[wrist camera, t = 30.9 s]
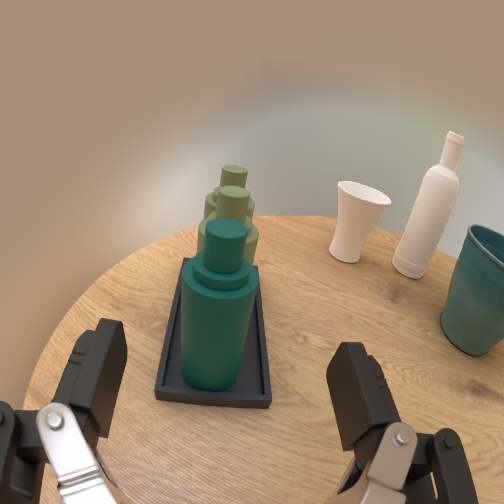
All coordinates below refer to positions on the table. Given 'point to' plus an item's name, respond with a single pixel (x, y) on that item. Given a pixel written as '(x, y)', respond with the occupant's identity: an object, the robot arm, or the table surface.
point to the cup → (356, 219)
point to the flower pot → (477, 293)
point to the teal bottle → (216, 307)
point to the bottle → (430, 212)
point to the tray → (249, 374)
